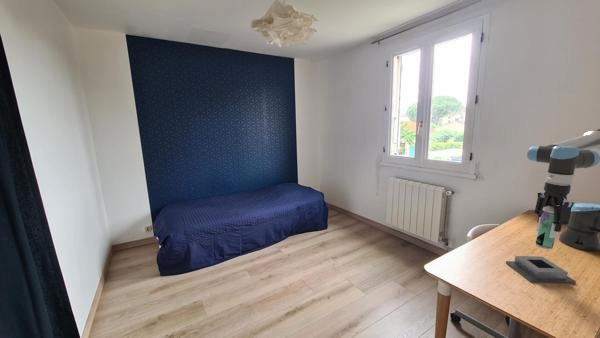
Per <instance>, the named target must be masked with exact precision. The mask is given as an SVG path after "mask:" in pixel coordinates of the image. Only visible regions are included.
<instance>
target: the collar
mask: <svg viewBox="0 0 600 338" xmlns="http://www.w3.org/2000/svg"><path fill="white" fill-rule="evenodd" d="M505 264H506V265H508V266H509V267H511V269H513V270H514V271H516V272H517V273H518V274H519V275H521V276H522V277H523V278H524V279H526V280H527V281H528V282H530V283H543V284H544V283H545V284H549V283H550V284H572V285H573V284H575V285H576V284H577V281H576V280H574V279H573V278H572V277H570V276H568V274H569V272H568V271H567V270H565V269H563V268H561V267H560V266H558V265H557V264H555V263H554V262H552V261H550V260H549V259H548V258H545V257H543V256H539V255H538V256H536V255H535V256H531V255H529V256H527V255H515V257H514V260H513V261H511V260H510V261H509V260H506V261H505Z"/></svg>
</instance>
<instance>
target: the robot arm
mask: <svg viewBox="0 0 600 338" xmlns="http://www.w3.org/2000/svg"><path fill="white" fill-rule="evenodd" d="M598 150H599V151H600V128H597V129H593V130H590V131H587V132H585V133H584V134H583V135H580V136H577V137H572V138H570V139H567V140H562V141H560V142H559V141H558V142H554V143H552V144H548V145H543V146H542V145H533V146H531V147H530V148H529V149H528V150H527V153H526V157H527V159H528V160H529V161H530V162H536V163H542V164H543V163H544V164H548V168H547V173H546V177H545V182H544V186H543V190H544V192H537V200H536V204H535V208H534V214H535V215H536V214H537V215H536V216H537V217H538V218H537V222H536V223H537V227H536V232H538V229H539V224H540V220H541V215H542V210H543V207H546V206H548V205H550V204H552V207H553V208H554V221H555V223H552V227H551V231H550V236H549V237H550V238H555V239H558V241H559V242H561V243H562V244H564V245H566V246H569V247H571V248H574V249H578V250H582V251H587V252H599V251H600V236H599V234H600V204H596V203H590V202H589V203H587V202H586V203H585V202H576V203H575V202H573V201H569V200H568V197H567V196H568V195H569V194H570V192H571V187H572V186H571V184H572V183H573V179H574V174H575V170H576V169H588V168H592V167H595V166H597V165H598V164H599V163H600V154H599V152H597V151H598ZM563 225H564V226H565V225H566V227H565V228H564V230H563V231H562V232H561V230H562V226H563ZM560 232H561V234H559V233H560ZM558 237H559V238H558Z"/></svg>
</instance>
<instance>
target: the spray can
mask: <svg viewBox="0 0 600 338" xmlns="http://www.w3.org/2000/svg"><path fill="white" fill-rule="evenodd" d="M552 223H555V221H554V208H553V207H552V204H550V205H548V206H546V207H543V210H542V215H541V220H540V224H539V229H538V231H537V235H536V239H535V245H536V246H537V247H538V248H541V249H546V250H553V249H554V244H555V241H556V238H550V237H549V236H550V231H551V227H552Z"/></svg>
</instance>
